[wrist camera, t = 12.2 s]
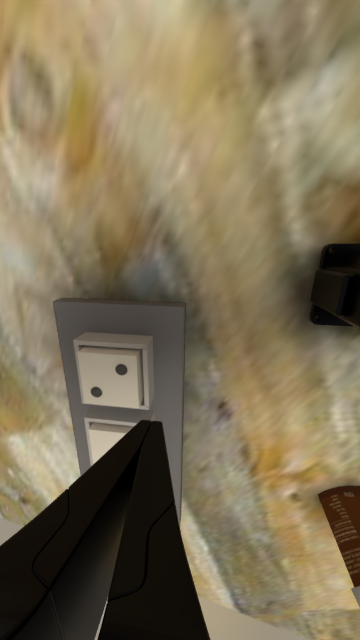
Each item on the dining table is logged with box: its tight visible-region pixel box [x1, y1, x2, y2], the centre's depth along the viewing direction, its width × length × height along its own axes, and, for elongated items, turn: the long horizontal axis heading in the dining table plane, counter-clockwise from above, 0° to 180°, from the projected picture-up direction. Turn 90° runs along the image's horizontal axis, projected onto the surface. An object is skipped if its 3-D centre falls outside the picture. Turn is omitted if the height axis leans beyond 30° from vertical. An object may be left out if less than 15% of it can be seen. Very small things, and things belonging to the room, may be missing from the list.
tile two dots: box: [77, 345, 144, 408], centre depth 20 cm, size 5×5×2 cm
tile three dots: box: [89, 422, 134, 464], centre depth 22 cm, size 5×5×2 cm
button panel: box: [53, 298, 186, 526], centre depth 24 cm, size 12×28×4 cm, turn 179°
